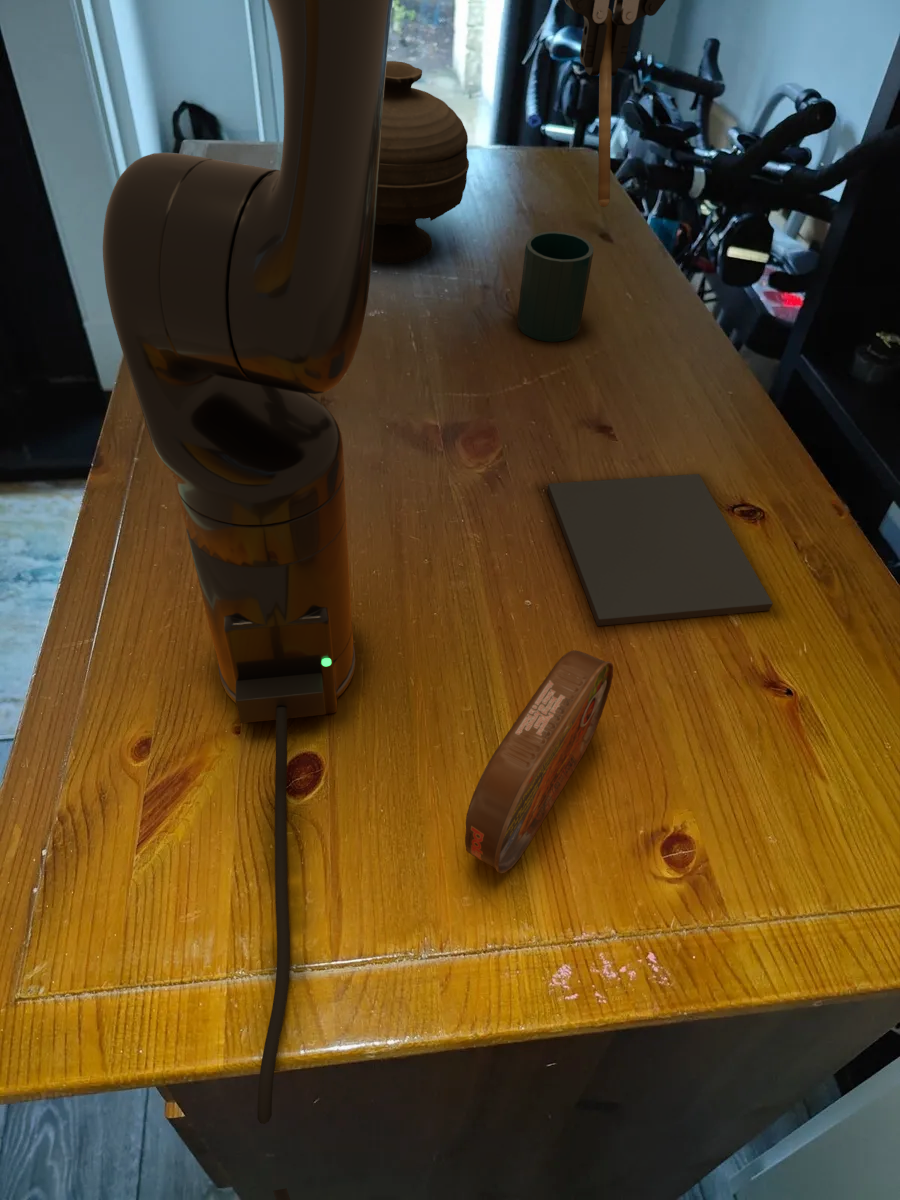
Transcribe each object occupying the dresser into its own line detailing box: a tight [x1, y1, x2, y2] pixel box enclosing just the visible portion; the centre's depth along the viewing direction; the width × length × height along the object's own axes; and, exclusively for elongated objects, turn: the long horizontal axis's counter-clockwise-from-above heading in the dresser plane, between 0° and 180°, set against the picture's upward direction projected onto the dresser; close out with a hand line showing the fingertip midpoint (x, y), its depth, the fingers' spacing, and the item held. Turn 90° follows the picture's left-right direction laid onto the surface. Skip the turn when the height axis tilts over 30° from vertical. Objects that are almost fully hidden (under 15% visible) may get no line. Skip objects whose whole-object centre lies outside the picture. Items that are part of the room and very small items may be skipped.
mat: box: [546, 473, 773, 627], centre depth 70 cm, size 16×14×1 cm
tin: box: [464, 649, 614, 874], centre depth 51 cm, size 15×3×8 cm, turn 148°
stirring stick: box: [597, 7, 613, 208], centre depth 71 cm, size 8×1×13 cm, turn 9°
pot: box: [372, 60, 470, 264], centre depth 99 cm, size 18×18×20 cm
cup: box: [516, 230, 595, 343], centre depth 91 cm, size 7×7×9 cm
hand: (600, 72), depth 72 cm, fingers closed on stirring stick, 1 cm apart
